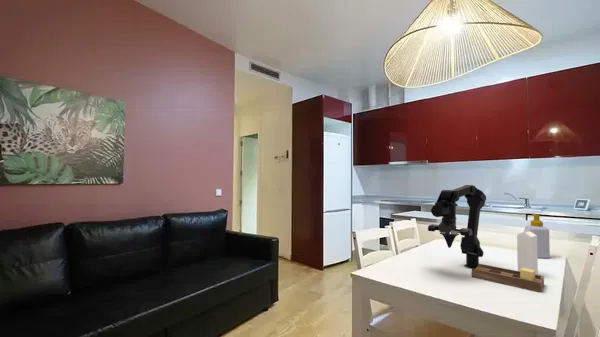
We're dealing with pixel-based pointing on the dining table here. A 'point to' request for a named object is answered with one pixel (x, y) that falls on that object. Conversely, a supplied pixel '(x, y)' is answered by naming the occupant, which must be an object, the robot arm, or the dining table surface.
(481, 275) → the wooden compartment tray
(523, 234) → the milk
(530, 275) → the block
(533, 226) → the soap bottle
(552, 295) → the dining table surface
